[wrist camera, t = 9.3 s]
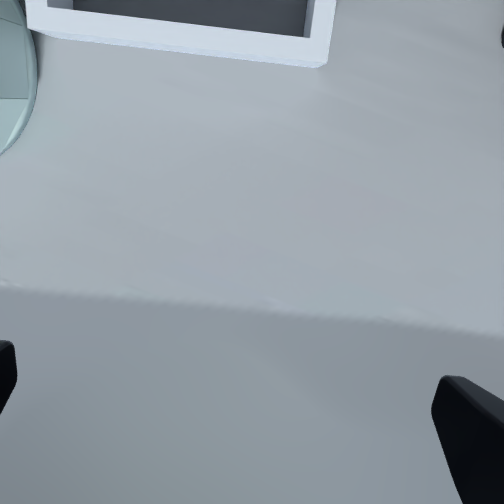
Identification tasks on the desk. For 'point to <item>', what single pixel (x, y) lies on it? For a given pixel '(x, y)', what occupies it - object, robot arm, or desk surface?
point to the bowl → (15, 73)
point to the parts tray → (188, 34)
